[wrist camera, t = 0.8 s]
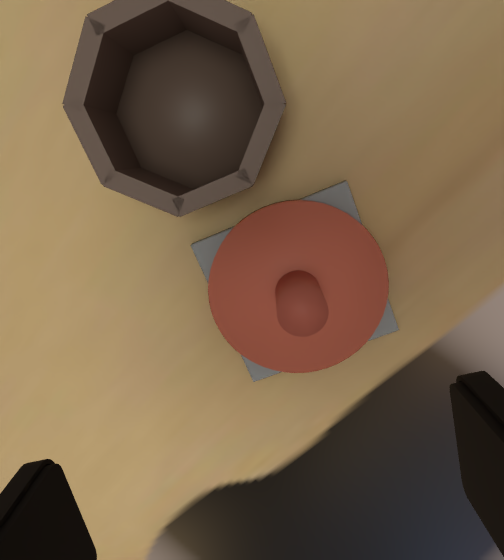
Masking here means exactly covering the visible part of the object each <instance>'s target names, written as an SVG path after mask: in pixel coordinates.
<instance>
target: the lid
mask: <svg viewBox="0 0 504 560" xmlns="http://www.w3.org/2000/svg"><path fill="white" fill-rule="evenodd" d="M388 288H389V280H388V272H387V267H386V263H385V260H384V257H383V255H382V252H381V250H380V248H379V246H378V244H377V243H376V241H375V239H374V238H373V237H372V235H371V234H370V233H369V232H368V231H367V229H366V228H365V227H363V226H362V225H361V224H360V223H359V222H358V221H357V220H356V219H354V218H353V217H351V216H350V215H348V214H347V213H345V212H344V211H342V210H340V209H338V208H336V207H333V206H330V205H327V204H325V203H320V202H315V201H308V200H289V201H283V202H278V203H274V204H271V205H268V206H265V207H263V208H261V209H259V210H257V211H255V212H253V213H251V214H250V215H248V216H247V217H245V218H244V219H242V220H241V221H240V222H239V223H238V224H237V225H236V226H235V227H234V228H233V229H232V230H231V231H230V232H229V233H228V235H227V236H226V237H225V239H224V240H223V242H222V243H221V245H220V247H219V249H218V251H217V253H216V255H215V257H214V260H213V263H212V266H211V269H210V275H209V284H208V294H209V303H210V307H211V311H212V315H213V317H214V320H215V322H216V324H217V326H218V328H219V330H220V332H221V333H222V335H223V336H224V337H225V339H226V340H227V342H228V343H229V344H230V345H231V346H232V347H233V348H234V349H235V350H236V351H238V352H239V353H240V354H241V355H243V356H244V357H246V358H247V359H249V360H250V361H252V362H254V363H256V364H258V365H260V366H263V367H265V368H269V369H272V370H276V371H281V372H289V373H305V372H312V371H318V370H322V369H325V368H328V367H331V366H333V365H336V364H338V363H340V362H342V361H343V360H345V359H347V358H349V357H350V356H351V355H353V354H354V353H355V352H357V351H358V350H359V349H360V348H361V347H362V346H363V345H364V344H365V343H366V342H367V341H368V340H369V338H370V337H371V336H372V335H373V333H374V332H375V330H376V328H377V327H378V325H379V323H380V321H381V319H382V317H383V314H384V311H385V308H386V304H387V298H388Z"/></svg>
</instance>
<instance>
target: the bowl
mask: <svg viewBox="0 0 504 560" xmlns="http://www.w3.org/2000/svg"><path fill="white" fill-rule="evenodd" d="M87 16H88V17H85V21H84V24H83V28H82V32H81V36H80V39H79V43H78V47H77V51H76V54H75V58H74V62H73V66H72V69H71V73H70V77H69V81H68V84H67V88H66V92H65V96H64V100H63V103H62V104H64V105H63V108H64V110H65V112H66V114H67V116H68V118H69V120H70V122H71V124H72V126H73V128H74V130H75V132H76V134H77V136H78V138H79V140H80V142H81V144H82V146H83V148H84V150H85V152H86V154H87V156H88V158H89V160H90V162H91V164H92V166H93V168H94V170H95V172H96V174H97V176H98V178H99V180H100V182H101V184H102V185H103V184H104V185H103V186H104V187H107V188H109V189H112V190H114V191H116V192H119V193H121V194H124V195H126V196H129V197H131V198H133V199H136V200H138V201H141V202H143V203H146V204H148V205H150V206H153V207H155V208H158V209H160V210H163V211H165V212H168V213H170V214H172V215H175V216H177V217H178V216H180V217H181V216H183V215H185V214H188V213H190V212H192V211H195V210H197V209H200V208H202V207H204V206H207V205H209V204H211V203H214V202H216V201H219V200H221V199H223V198H226V197H228V196H230V195H233V194H235V193H237V192H240V191H242V190H245V189H247V188H249V187H252V186H253V185H254V183H255V180H256V178H257V175H258V173H259V170H260V168H261V165H262V163H263V160H264V158H265V155H266V153H267V150H268V148H269V145H270V143H271V141H272V138H273V136H274V133H275V131H276V128H277V126H278V123H279V121H280V118H281V116H282V113H283V111H284V108H285V106H286V105H285V104H286V101H285V98H284V96H283V93H282V90H281V87H280V85H279V82H278V79H277V77H276V74H275V71H274V68H273V66H272V63H271V60H270V58H269V55H268V52H267V49H266V47H265V44H264V41H263V39H262V36H261V33H260V30H259V28H258V25H257V22H256V20H255V17H254V14H253V15H252V13H251V12H249V11H247V10H245V9H243V8H240V7H238V6H236V5H234V4H232V3H230V2H227V1H225V0H114V1H113V2H111V3H109V4H107V5H105V6H103V7H101V8H99V9H97V10H95V11H93V12H91V13H89V14H87Z"/></svg>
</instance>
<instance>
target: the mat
mask: <svg viewBox="0 0 504 560" xmlns="http://www.w3.org/2000/svg"><path fill="white" fill-rule="evenodd" d="M299 200H308V201H315V202H320V203H325V204H327V205H330V206H333V207H336V208H338V209H340V210H342V211H344V212H345V213H347V214H348V215H350V216H351V217H353V218H354V219H356V220H357V221H358V222H359V223H360V224H361V225H362V223H361V220H360V217H359V214H358V212H357V209H356V206H355V203H354V200H353V197H352V194H351V192H350V189H349V186H348V183H347V181H343V182H340V183H338V184H336V185H333V186H331V187H328V188H326V189H323V190H321V191H319V192H316V193H314V194H311V195H309V196H307V197H304V198H302V199H299ZM234 227H235V226H234ZM234 227H231V228H229V229H226V230H224V231H222V232H219V233H217V234H214V235H212V236H209V237H207V238H205V239H202V240H200V241H197V242H195V243H192V244H191V247H192V249H193V251H194V254H195V256H196V258H197V260H198V262H199V264H200V267H201V269H202V271H203V273H204V275H205V278H206V280H207V282H208V284H209V275H210V269H211V266H212V263H213V260H214V257H215V255H216V253H217V251H218V249H219V247H220V245H221V243H222V242H223V240H224V239H225V237H226V236H227V235H228V233H229V232H230V231H231V230H232V229H233V228H234ZM397 330H399V329H398V326H397V323H396V320H395V317H394V315H393V312H392V309H391V306H390V303H389V300H388V298H387V304H386V308H385V311H384V314H383V317H382V319H381V321H380V323H379V325H378V327H377V328H376V330H375V332H374V333H373V335H372V336H371V337H370V338H369V340H372V339H375V338H378V337H381V336H383V335H386V334H389V333H392V332H395V331H397ZM369 340H368V341H369ZM241 356H242V358H243V360H244V362H245V364H246V367H247V369H248V371H249V373H250V375H251V377H252V380H253V382H255V381H258V380H260V379H263V378H266V377H269V376H272V375H274V374H277V373H280V372H281V371H276V370H272V369H269V368H265V367H263V366H260V365H258V364H256V363H254V362H252V361H250V360H249V359H247V358H246V357H244V356H243V355H241Z"/></svg>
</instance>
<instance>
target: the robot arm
mask: <svg viewBox="0 0 504 560" xmlns="http://www.w3.org/2000/svg"><path fill="white" fill-rule="evenodd" d="M450 396H451V403H452V411H453V418H454V426H455V433H456V440H457V447H458V455H459V462H460V470H461V478H462V483H463V487H464V491H465V493H466V495H467V498H468V499H469V501H470V503H471V504H472V506H473V508H474V509H475V511H476V513H477V514H478V516H479V517H480V519H481V521H482V522H483V524H484V526H485V527H486V529H487V530H488V532H489V534H490V535H491V537H492V538H493V540H494V542H495V543H496V545H497V547H498V548H499V550H500V552H501V553H502V555H503V556H504V388H503V387H502V386H501V385H500V384H499V383H498V382H496V381H495V380H494V379H493V378H492V377H491V376H490V375H489V374H488V373H487V372H485V371H479V372H474V373H469V374H465V375H460V376H458V377H457V379H456V383H454V384H451V385H450ZM0 560H97V554H96V549H95V546H94V544H93V542H92V539H91V537H90V534H89V532H88V530H87V527H86V525H85V522H84V520H83V518H82V515H81V513H80V511H79V508H78V506H77V503H76V501H75V499H74V496H73V494H72V491H71V489H70V487H69V484H68V482H67V479H66V477H65V475H64V472H63V470H62V468H61V466H60V465H59V464H55V463H54V462H53V461H52V460H50V459H45V460H40V461H35V462H30V463H26V464H24V465H23V466H22V467H21V468H20V469H19V470H18V472H17V473H16V474H15V475H14V477H13V478H12V479H11V481H10V482H9V483H8V484H7V486H6V487H5V488H4V490H3V491H2V492H1V494H0Z"/></svg>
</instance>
